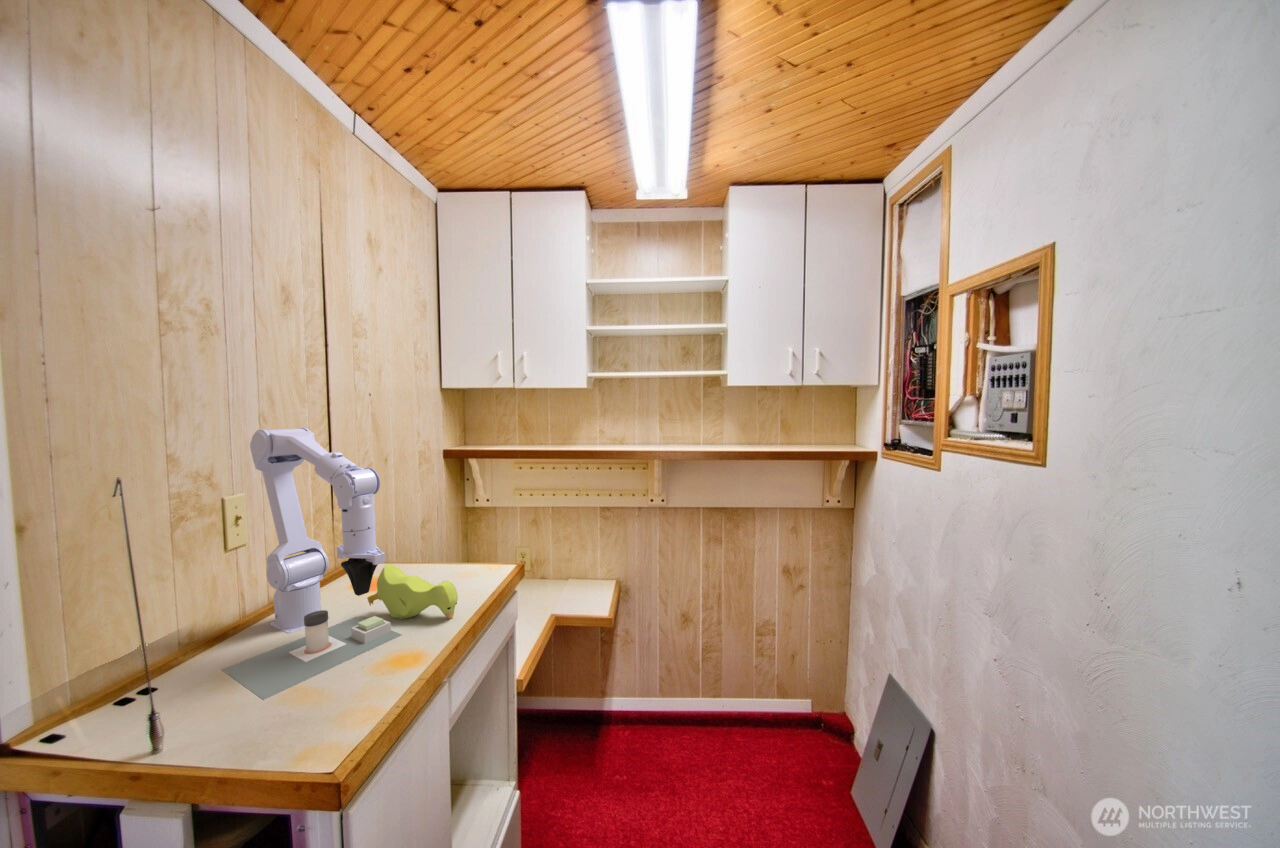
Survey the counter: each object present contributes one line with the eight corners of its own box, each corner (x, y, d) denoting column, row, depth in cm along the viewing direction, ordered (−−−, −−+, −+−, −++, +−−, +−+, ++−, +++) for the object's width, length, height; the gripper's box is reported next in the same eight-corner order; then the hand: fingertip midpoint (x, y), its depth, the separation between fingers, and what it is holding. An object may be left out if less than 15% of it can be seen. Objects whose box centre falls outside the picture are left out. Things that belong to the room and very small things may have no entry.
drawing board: (221, 672, 79) (220, 658, 79) (356, 618, 99) (355, 607, 99) (263, 702, 70) (262, 687, 70) (402, 637, 90) (401, 625, 90)
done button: (358, 634, 90) (357, 622, 90) (375, 627, 93) (374, 615, 93) (367, 638, 88) (366, 626, 88) (384, 630, 91) (383, 619, 91)
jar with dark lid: (301, 650, 85) (300, 616, 85) (324, 641, 88) (322, 608, 88) (310, 655, 83) (309, 620, 83) (333, 645, 86) (331, 612, 86)
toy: (379, 647, 98) (452, 621, 94) (354, 578, 99) (426, 549, 95) (399, 633, 104) (469, 608, 100) (376, 568, 105) (444, 541, 101)
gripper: (319, 529, 89) (322, 594, 90) (357, 537, 82) (360, 608, 82) (355, 521, 96) (358, 582, 96) (394, 528, 88) (397, 594, 89)
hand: (362, 593), depth 90 cm, fingers closed
